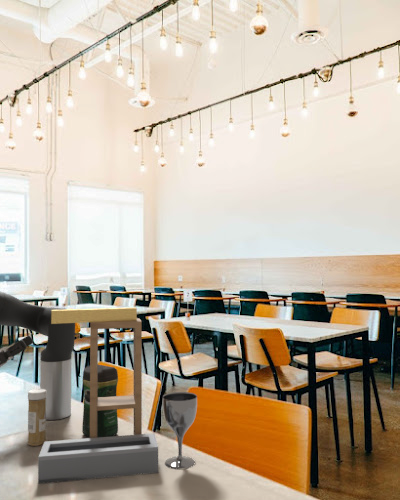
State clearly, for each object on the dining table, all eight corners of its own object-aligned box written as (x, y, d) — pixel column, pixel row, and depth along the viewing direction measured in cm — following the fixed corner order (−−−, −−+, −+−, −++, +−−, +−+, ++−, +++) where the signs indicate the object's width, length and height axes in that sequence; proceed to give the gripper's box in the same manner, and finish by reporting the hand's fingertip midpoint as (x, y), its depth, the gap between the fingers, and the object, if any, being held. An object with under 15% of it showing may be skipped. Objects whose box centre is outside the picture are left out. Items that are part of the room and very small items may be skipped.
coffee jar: (123, 434, 122) (123, 365, 123) (99, 442, 116) (99, 370, 117) (101, 426, 128) (101, 361, 130) (77, 434, 122) (77, 365, 123)
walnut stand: (91, 448, 112) (91, 319, 114) (139, 444, 114) (139, 318, 116) (89, 461, 104) (90, 322, 106) (141, 457, 107) (141, 321, 108)
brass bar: (51, 322, 107) (51, 309, 108) (134, 319, 114) (134, 307, 114) (51, 323, 105) (51, 310, 105) (136, 320, 111) (136, 308, 111)
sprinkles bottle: (48, 444, 116) (48, 390, 116) (29, 447, 113) (30, 393, 114) (43, 438, 119) (44, 387, 120) (25, 442, 117) (26, 389, 118)
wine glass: (184, 472, 98) (184, 402, 99) (155, 465, 102) (155, 397, 103) (203, 460, 105) (203, 394, 105) (176, 453, 109) (175, 390, 110)
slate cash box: (44, 466, 102) (44, 441, 102) (154, 456, 107) (154, 433, 107) (38, 483, 93) (38, 456, 94) (158, 472, 98) (158, 446, 98)
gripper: (-56, 371, 97) (14, 331, 100) (-35, 359, 111) (25, 324, 114) (-38, 401, 97) (31, 360, 100) (-19, 385, 111) (41, 349, 114)
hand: (28, 341), depth 107 cm, fingers open, 8 cm apart
